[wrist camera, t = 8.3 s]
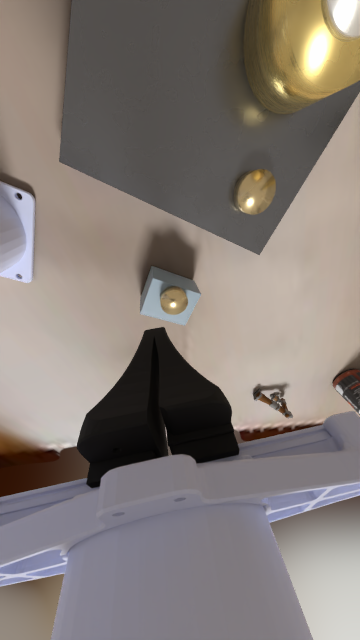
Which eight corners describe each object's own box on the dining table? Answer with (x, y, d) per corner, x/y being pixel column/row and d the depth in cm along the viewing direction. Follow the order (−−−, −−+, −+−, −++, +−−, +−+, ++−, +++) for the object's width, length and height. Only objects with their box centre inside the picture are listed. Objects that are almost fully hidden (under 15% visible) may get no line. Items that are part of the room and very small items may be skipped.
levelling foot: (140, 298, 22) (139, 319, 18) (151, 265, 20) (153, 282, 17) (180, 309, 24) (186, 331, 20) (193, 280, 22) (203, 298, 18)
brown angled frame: (283, 404, 40) (290, 423, 36) (251, 384, 40) (254, 401, 36) (289, 399, 39) (297, 418, 35) (257, 379, 39) (260, 395, 35)
